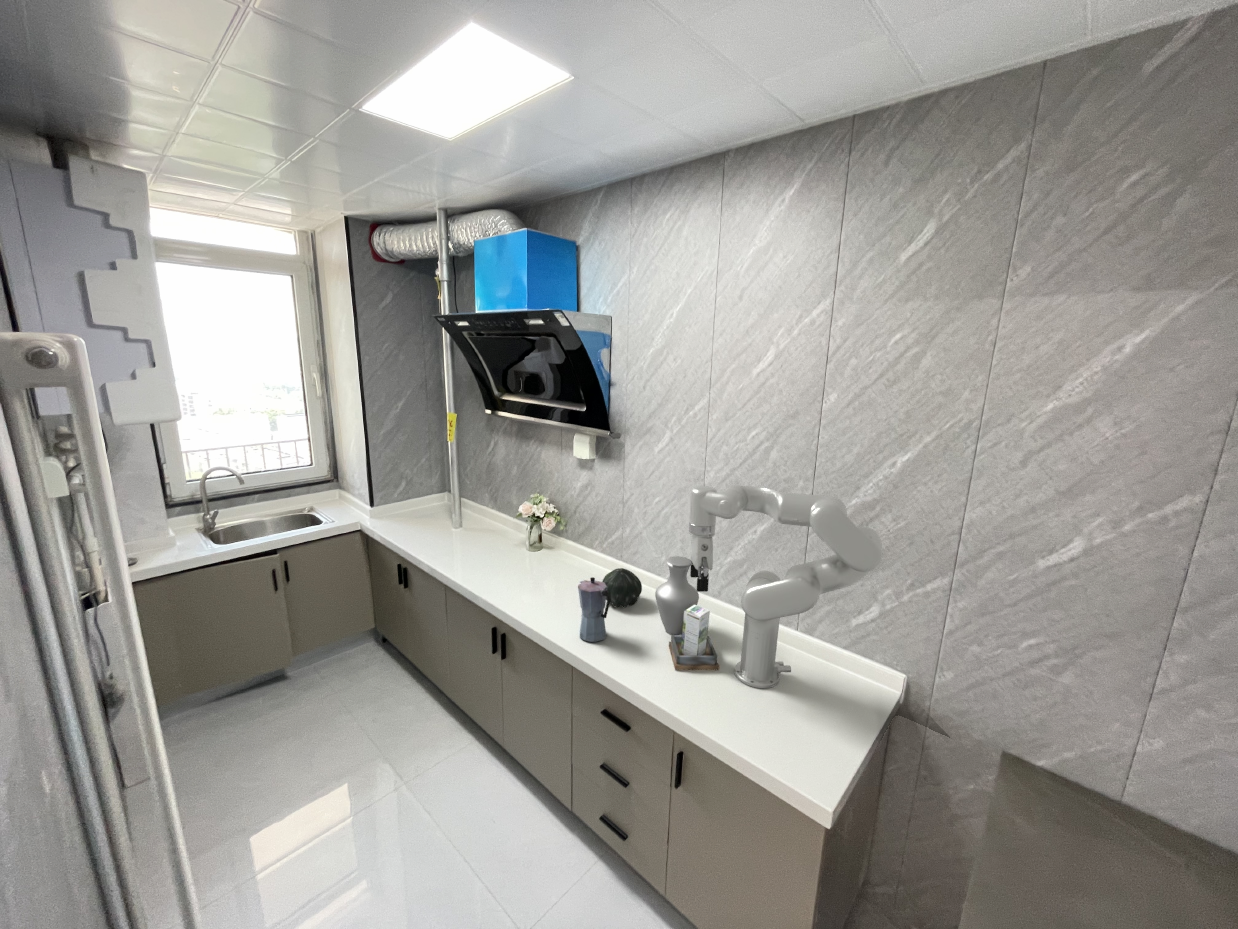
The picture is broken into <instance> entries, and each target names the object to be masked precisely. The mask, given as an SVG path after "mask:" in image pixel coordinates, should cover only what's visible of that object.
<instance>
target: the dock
mask: <svg viewBox="0 0 1238 929" xmlns="http://www.w3.org/2000/svg"><path fill="white" fill-rule="evenodd" d="M681 645H682V635H671V636H670V641H668V648H669V652H670V656H671V659H672V664H673V667H674V671H720V665H719V662H718V654H717V651H716V649H715V647H714V644H713V642H712V640H711V638H710V636H709V635H708V636H707V647H706V653H705V654H704V655H702V656H686V655H684V654H681Z"/></svg>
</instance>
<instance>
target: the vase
mask: <svg viewBox="0 0 1238 929" xmlns="http://www.w3.org/2000/svg"><path fill="white" fill-rule="evenodd" d="M666 564H667V566H668V570H669V576H668V579H667V580H666V581H665V582H663V583H661V584H660V585H659V586H658V587H656V590H655V593H654V596H655V601H656V605H657V609H658V610H657V611H658V613H659V617H660V620H661V623H662V625H663V628H664V630H665V632H666V633H667V634H669V635H671V636H673V635H682V633H683V620H684V611H685V610H687V609H688V608H690V607H691V606H693V605H698V603H699V599H700V595H699V592H698V591H697V588H695V587H694V586H693V585H691V584H690V583H689V581H688V578H687V575H688V572H689V569H690V568H691V558H688V557H686V556H685V557H684V556H679V555H676V556H674V555H673V556H670V557H668V558H666Z"/></svg>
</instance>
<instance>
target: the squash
mask: <svg viewBox="0 0 1238 929" xmlns="http://www.w3.org/2000/svg"><path fill="white" fill-rule="evenodd" d="M601 582H604V583H605V584H606V586H607V593H608V595H609V596H610V604H612V605H613V607H614V608H618V607H621V608H627V607H628V606H633V605H635V604H636V603H637V602H638V601H639V598H640V596H641V594H642V590H643V586H642V581H641V580H640V578H639V577H638V576H637V575H636V574H635V573H634V572H633V571H630V570H629V569H626V568H622V567H620V568H615V569H613V570H612V571H610V572H608V573H607V574H606V575H604V577H603V579H602V581H601ZM606 601H607V597H606Z"/></svg>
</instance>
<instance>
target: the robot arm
mask: <svg viewBox="0 0 1238 929" xmlns="http://www.w3.org/2000/svg"><path fill="white" fill-rule="evenodd" d="M742 511H745V512H752V513H753V512H754V513H760V514H764V515H767V516H769V517H771V518H772V519H773V520H774V521H776V522H777V523H779V524H782V525H787V526H788V525H790V526H800V527H808V528H811V529H812V531H813V532H814V533H815V534H816V535H817V537H818V538H819V539H820V540H821V541H822V542H823V543H824V544H825V545H826V546H827V547H828V548H829V549H830V550H831V551H832V552H833V553H834V554H833V555H830V556H828V557H825V558H821V559H817V560H813V561H808V562H805V563H799V564H794V565H793V566H791V567H789V569H788V570H787V571H786V573H785V575H784V578H782V579H780V577H779V576H778V575H777V574H776V573H774V572H773V571H770V570H759V571H757V572H755V573H754V574H753V575H751V577H750V578H749V580H748V582H747V583H746V586H745V588H744V590H743V592H742V595H741V598H740V605H741V609H742V611H743V612H744V620H743V621H744V622H743V631H742V632H743V633H742V635H743V636H742V641H741V642H742V644H741V645H742V646H741V654H740V656H741V657H740V661H738V662H736V664H735V665H734V674H735V677H736V678H737V679H738V680H739V681H740V682H741V683H743V684H745V685H748V686H750V687H753V688H758V689H768V688H772V687H774V686H776V685H777V684H778V683H779V680H780V674H781V673H792V667H791V666H792V665H790V664H789V665H787V664H786V665H785V664H784V661H780V660H779V661H776V655H777V646H778V638H779V629H780V620H781V619H782V618H786V617H791V616H794V615H800V614H803V613H806V612H808V611H810V610H811V609H814V607H815V606H816V605H817V604H818V601H819V600H820V596H821V595H822V594H825V593H829V592H834V591H836V590H840V589H843V588H848V587H851V586H852V585H854V584H857V583H858V582H860V581H861V580H863V579H864V578H865V577H866V576H867V575H868V574H869V573H870V572H873V571H875V570H876V569H877V568H879V566H880V565H881V563H882V562H883V545H882V540H881V537H880V535H879V533H878V532H877V531H876V530H875V529H873V528H871V527H867V526H859V527H858V526H857V525H856V524H855V523H854V522H853V521H852V520H851V519H850V518H849V517H848V510H847V507H846V505H845V503H844V502H843V501H842V500H841V499H840V498H838V497H835V496H830V495H821V494H820V495H819V494H806V493H796V492H795V493H794V492H784V491H779V490H775V489H771V488H766V487H761V486H752V485H751V486H750V485H731V486H728V487H726V489H724V490H723V491H717V489H715V488H714V487H712V486H707V485H698V486H694V487H693V488H691V490H690V504H689V522H688V523H689V524H688V534H689V536H691V540H690V560H691V566H690V573H689V574H690V575H689V576H690V578H696V590H697V592H698V593H699V592H700V593H701V592H703V593H704V592H708V591H709V581H710V576H709V573H710V572H709V571H712V570H713V569H714V568H713V567H714V566H713V564H714V563H713V562H714V560H713V559H714V541H713V537H715V535H716V525H717V524H716V520H717V517H718V518H720V519H725V520H732V519H734V518H736V517H737V516H739V515H740V514H741V512H742Z"/></svg>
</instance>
